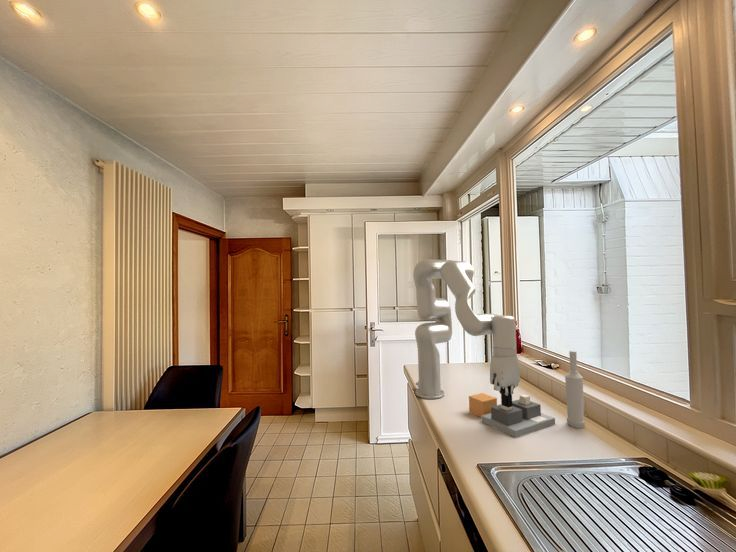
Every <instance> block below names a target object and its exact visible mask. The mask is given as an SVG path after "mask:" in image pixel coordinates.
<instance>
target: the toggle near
mask: <svg viewBox="0 0 736 552" xmlns="http://www.w3.org/2000/svg"><path fill="white" fill-rule="evenodd" d="M501 409H504V410H506V411H508V410H512V407H506V406H503V405H501Z"/></svg>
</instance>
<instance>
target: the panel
mask: <svg viewBox="0 0 736 552" xmlns="http://www.w3.org/2000/svg"><path fill="white" fill-rule="evenodd" d="M501 405H502V404H497V406H493V407H491V413H490V414H486V415H482V418H481V422H482V423H484V424H486V425H488V426H490V427H493V428H495V429H497V430H498V431H499V430H500V431H502V432H503V433H505V434H508V435H509V436H512V437H514V438H518V437H521V436H524V435H526V434H530V433H533V432H536V431H538V430H542V429H544V428H547V427H550V426H553V425H555V424H556V418H555V417H553V416H550V415H548V414H545V413H542V411H541V407H542V406H541V404H540V403H538V402H534V401H532V400H530V404H529V405H523V404H520V398H519V399H516V400H512V410H508V411H506V410H504V409H501Z"/></svg>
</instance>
